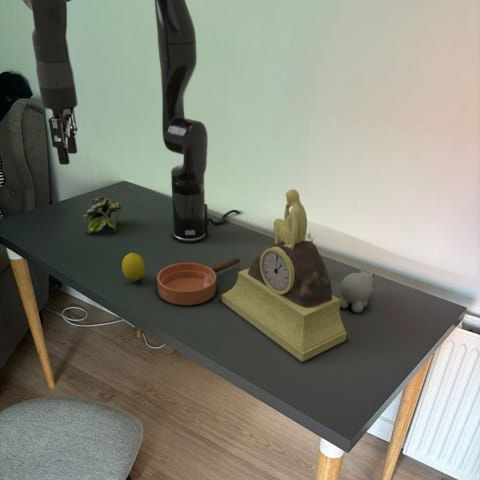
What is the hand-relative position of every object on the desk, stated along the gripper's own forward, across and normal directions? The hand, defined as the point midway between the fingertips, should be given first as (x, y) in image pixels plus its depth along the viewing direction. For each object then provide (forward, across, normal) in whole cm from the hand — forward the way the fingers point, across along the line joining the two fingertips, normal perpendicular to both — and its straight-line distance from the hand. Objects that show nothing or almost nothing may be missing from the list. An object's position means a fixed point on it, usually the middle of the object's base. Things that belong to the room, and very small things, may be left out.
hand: (68, 158), depth 120 cm
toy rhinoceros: (+28, -20, -69) cm, 77 cm away
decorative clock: (+28, -27, -49) cm, 62 cm away
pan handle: (+26, -6, -36) cm, 45 cm away
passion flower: (+28, +22, -2) cm, 36 cm away
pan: (+28, -14, -27) cm, 41 cm away
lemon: (+28, -9, -14) cm, 33 cm away
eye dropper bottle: (+28, -6, -58) cm, 65 cm away
